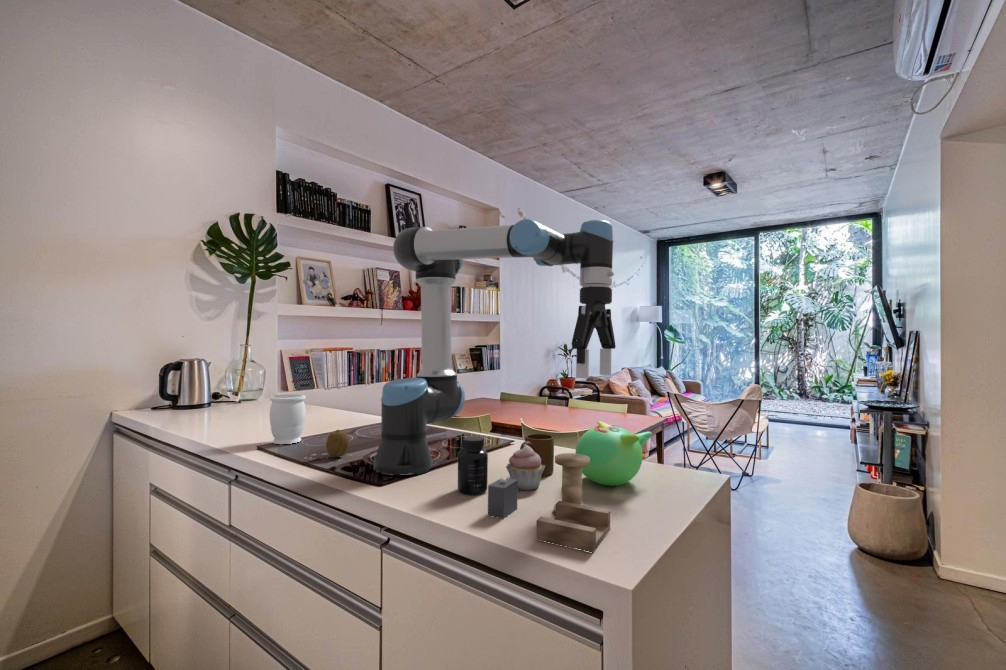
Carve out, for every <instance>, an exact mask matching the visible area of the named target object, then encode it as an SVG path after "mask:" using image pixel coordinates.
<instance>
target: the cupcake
mask: <svg viewBox="0 0 1006 670" xmlns="http://www.w3.org/2000/svg"><path fill="white" fill-rule="evenodd" d="M544 467H545V466H544V465H541V458H540V456H539V455H538V454H537V453H535V452H534V451H533V449H532V448H531V447H529V446H527V445H526V444H524V446H523V449H520V448H519V449H518V450H516V451H515V452H513V454H512V455H511V456H510V457H509V459H508V463H506V466H505V468H506V471H507V472H508V475H509V479H514V480H518V489H517V490H518V491H519V490H521V491H533V490H536V489H538V488H539V486H540V484H541V483H540V482H541V479H542V476H541V475H542V473H543V470H544Z"/></svg>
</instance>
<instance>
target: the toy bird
mask: <svg viewBox="0 0 1006 670" xmlns="http://www.w3.org/2000/svg"><path fill="white" fill-rule="evenodd" d="M596 423H597V425H598V426H594V427H592V428H589V429H588V430H587V431H586V432H584V433H583V434H581V436H580V438H579V440H578V441H577V444H576V447H575V453H574V454H582V455H585V456H588V457H589V458H590V465H588V466H585V467H582V475H583V476H585V477H586V479H589V480H590V481H591V482H594V483H597V484H600V485H603V486H610V487H611V486H620V485H624V484H626V483H628V482H630V481H631V480H632V479H634V478H635V477H636V475H637V474H638V472H639V471H640V470H641V469H640V468H641V466H642V462H643V457H644V456H643V448H642V447H643V445H644V444H646V443H647V441H648V440H649V439H651V437H652V435H653V433H652V432H651V431H643V432H639V433H635V434H634V433H632V432H631V431H629V430H627V429H625V428H623V427H621V426H618V425H611V424H608V423H606V422H604V421H601V420H597V421H596Z"/></svg>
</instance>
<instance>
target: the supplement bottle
mask: <svg viewBox="0 0 1006 670" xmlns="http://www.w3.org/2000/svg"><path fill="white" fill-rule="evenodd" d="M484 440H485V439H484V438H483V437H481V436H475V435H474V436H473V435H472V436H470V435H469V436H465V437H463V438H462V445H461V447H462V449H460V450H459V452H458V454H457V491H458V492H459V493H460V494H462V495H465V496H478V495H482V494H484V493H487V492H488V474H489V472H488V469H489V467H488V466H489V465H488V464H489V458H488V457H489V454H488V452H487V450H485V449H484V447H485V443H484V442H485V441H484Z"/></svg>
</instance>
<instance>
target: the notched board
mask: <svg viewBox="0 0 1006 670" xmlns="http://www.w3.org/2000/svg"><path fill="white" fill-rule="evenodd" d="M555 504H556V514H555V516H554V518H549V517H544V516H540V517H538V518H537V519H536V528H535V529H536V531H535V532H536V536H535V537H536V539H537V540H536V541H538V540H542V541H546V542H550V543H554V544H558V545H557V546H559V545H562V546H561V547H563V546H567V547H571V548H577V549H581V550H585V551H589V552H593V551H594V550H595V549H596V550H597V549H598V547H599V546H598V545H600V544H601V543H602V541H603V540H604V538H605V537H606V536H607V534H609V531H610V530H611V509H606V508H600V507H594V506H589V505H587V506H585V505H586V504H585V505H579V504H574V503H569V502H564V501H562V500H558V501H557V502H556V503H555ZM542 541H541V542H542ZM546 542H545V543H546ZM550 543H549V544H550ZM554 544H553V545H554ZM597 546H598V547H597ZM567 547H566V548H567ZM571 548H570V549H571ZM596 550H595V551H596ZM595 551H594V552H595ZM594 552H593V553H594Z"/></svg>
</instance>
